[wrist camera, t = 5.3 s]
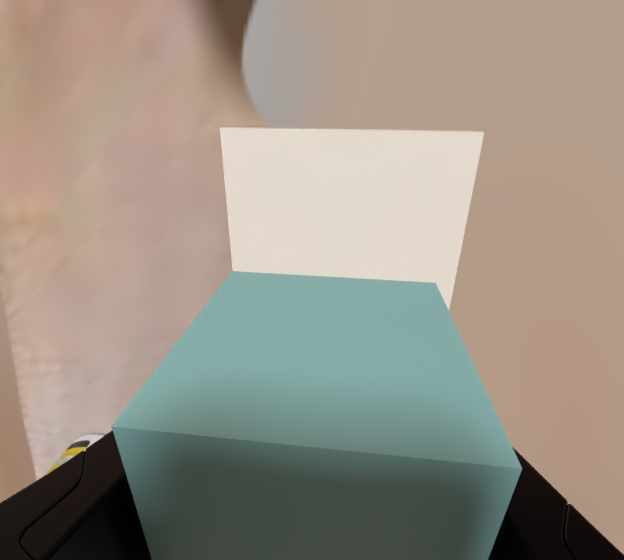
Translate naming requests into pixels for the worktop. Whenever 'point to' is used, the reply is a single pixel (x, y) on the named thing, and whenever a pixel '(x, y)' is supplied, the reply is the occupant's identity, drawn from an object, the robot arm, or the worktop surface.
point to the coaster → (349, 201)
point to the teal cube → (318, 429)
